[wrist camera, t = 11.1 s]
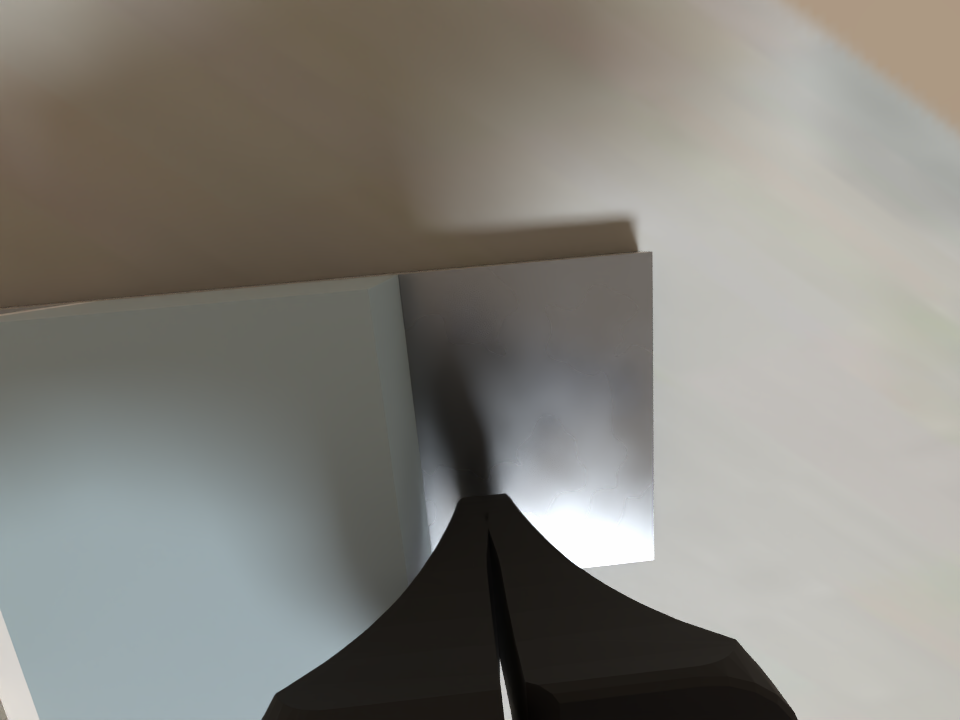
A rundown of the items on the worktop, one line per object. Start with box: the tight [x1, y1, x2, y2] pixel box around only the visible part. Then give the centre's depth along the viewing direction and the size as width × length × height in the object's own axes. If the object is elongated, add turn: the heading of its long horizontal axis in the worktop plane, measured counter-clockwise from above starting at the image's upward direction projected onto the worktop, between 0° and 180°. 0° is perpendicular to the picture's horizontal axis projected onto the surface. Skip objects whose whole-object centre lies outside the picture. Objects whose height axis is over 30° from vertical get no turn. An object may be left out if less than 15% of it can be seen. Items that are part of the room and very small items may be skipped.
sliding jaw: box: [0, 275, 432, 720], centre depth 10 cm, size 8×7×4 cm
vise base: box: [0, 252, 654, 568], centre depth 10 cm, size 8×22×5 cm, turn 95°
